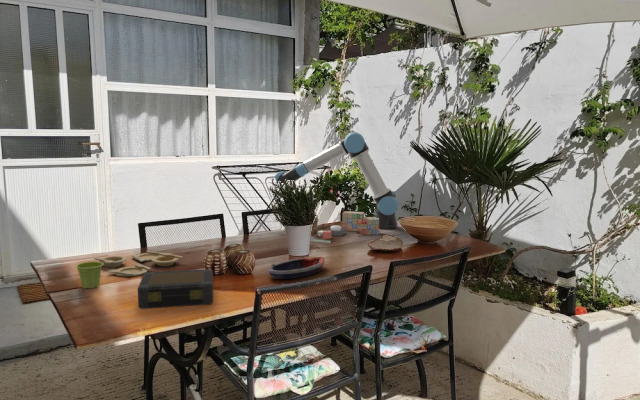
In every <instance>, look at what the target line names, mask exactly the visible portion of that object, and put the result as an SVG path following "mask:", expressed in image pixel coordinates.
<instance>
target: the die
mask: <svg viewBox="0 0 640 400" xmlns="http://www.w3.org/2000/svg"><path fill="white" fill-rule="evenodd" d="M323 231H324V232H323V234H322V240H331V239H332V231H326V230H323Z"/></svg>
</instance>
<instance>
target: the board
mask: <svg viewBox="0 0 640 400" xmlns="http://www.w3.org/2000/svg"><path fill="white" fill-rule="evenodd" d="M324 231H332V236H334V237H342V236H343V235H345V234H346V233H347V230H346V229H344V228H342V227H341V231H333V230H331V227H330V228H327V229H325V230H317V233H318V236H316V237H312V236H310V237H311V243H321V244H328V245H329V244H331V243H334V242H335V240H331V239H319V238H317V237H320V236H321V235H322V236H323V232H324Z"/></svg>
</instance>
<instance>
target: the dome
mask: <svg viewBox="0 0 640 400" xmlns="http://www.w3.org/2000/svg"><path fill="white" fill-rule="evenodd" d="M330 228H331V230H333V231H341V228H342V225H337V224H336V225H331V226H330Z"/></svg>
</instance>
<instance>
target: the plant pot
mask: <svg viewBox="0 0 640 400" xmlns="http://www.w3.org/2000/svg"><path fill="white" fill-rule="evenodd" d="M103 266H104V263H101V262H99V261H87V262H86V261H85V262H81V263H78V264H77V265H76V266H75V268H77V271H78V275H79V279H80V283H81V287H82V288H83V289H96V288H98V287H99V286H100V283H101V273H102V267H103Z"/></svg>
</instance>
